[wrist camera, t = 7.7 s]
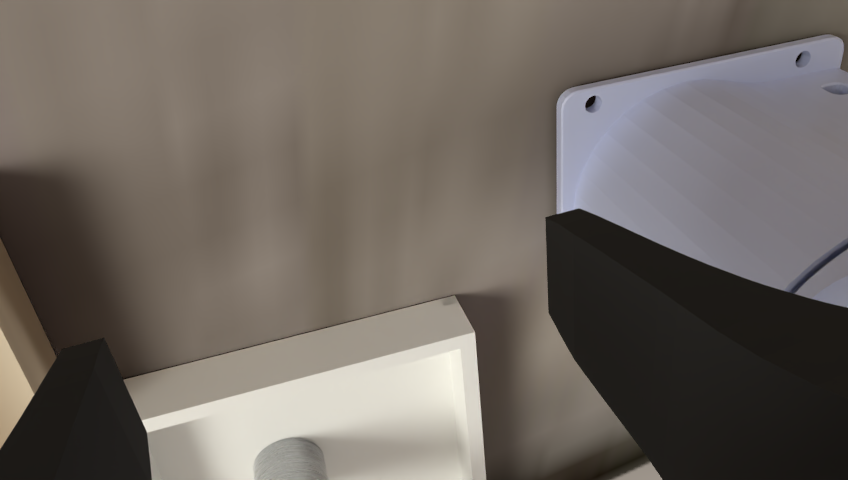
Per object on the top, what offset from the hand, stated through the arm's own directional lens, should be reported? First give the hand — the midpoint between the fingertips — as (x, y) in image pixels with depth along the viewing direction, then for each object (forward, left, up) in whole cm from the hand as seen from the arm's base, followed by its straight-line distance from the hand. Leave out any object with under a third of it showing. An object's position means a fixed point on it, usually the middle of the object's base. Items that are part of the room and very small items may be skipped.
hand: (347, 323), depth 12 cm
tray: (+1, +13, -10) cm, 16 cm away
